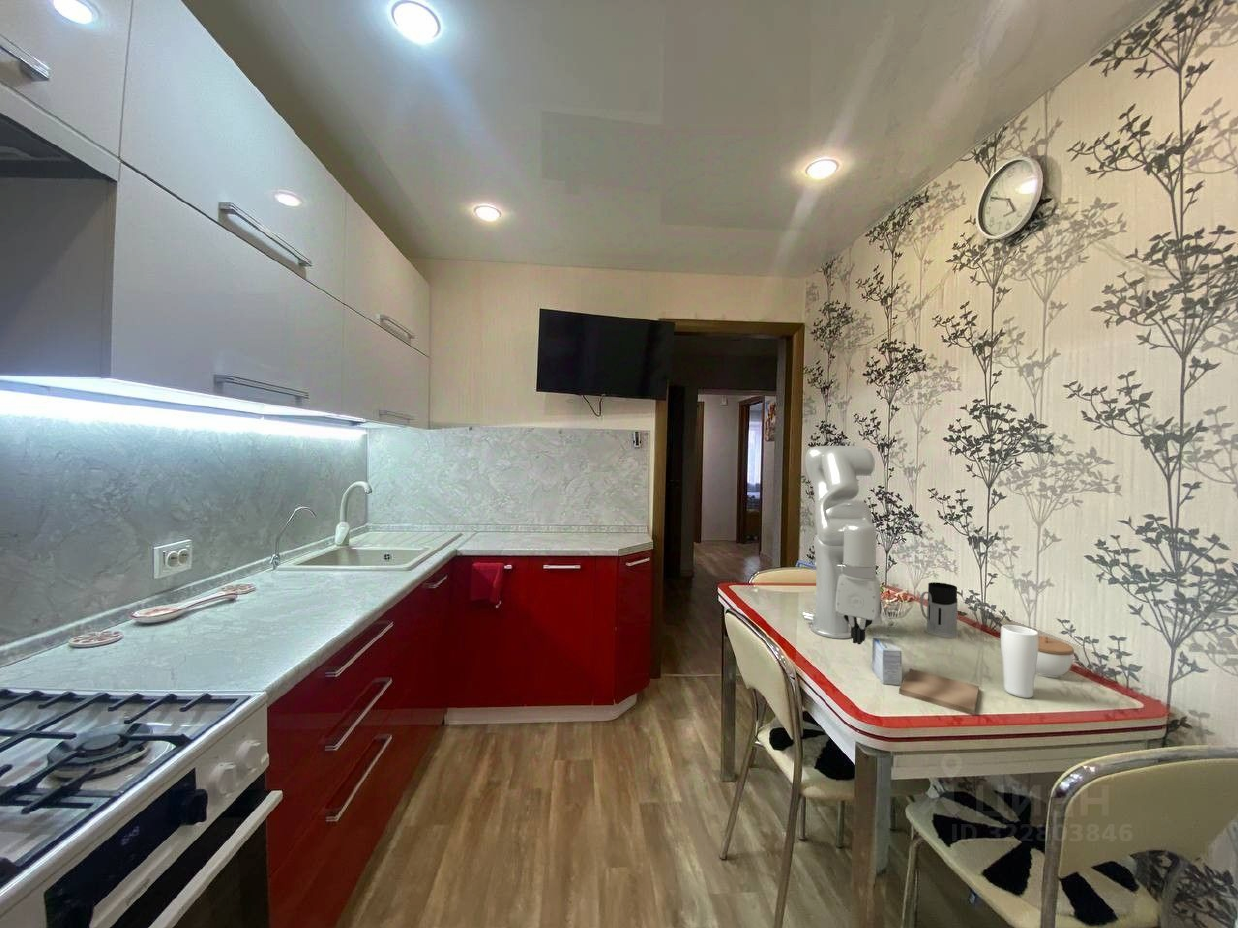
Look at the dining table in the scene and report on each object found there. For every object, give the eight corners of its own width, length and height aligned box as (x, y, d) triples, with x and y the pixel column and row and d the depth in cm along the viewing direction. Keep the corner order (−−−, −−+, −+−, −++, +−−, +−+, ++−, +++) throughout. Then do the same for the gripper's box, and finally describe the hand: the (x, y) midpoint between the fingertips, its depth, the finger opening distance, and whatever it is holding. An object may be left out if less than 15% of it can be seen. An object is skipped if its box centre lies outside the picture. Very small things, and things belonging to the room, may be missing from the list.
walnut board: (899, 693, 111) (899, 688, 111) (910, 673, 121) (910, 668, 121) (974, 715, 101) (974, 709, 101) (978, 691, 112) (979, 686, 112)
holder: (965, 635, 147) (966, 587, 147) (934, 642, 142) (935, 592, 142) (936, 626, 155) (937, 580, 155) (906, 632, 150) (907, 584, 150)
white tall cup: (1028, 688, 113) (1030, 626, 113) (1043, 702, 107) (1044, 636, 107) (994, 684, 116) (995, 622, 115) (1006, 697, 109) (1008, 632, 109)
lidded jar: (1082, 685, 116) (1084, 647, 116) (1029, 678, 119) (1030, 640, 119) (1058, 666, 126) (1059, 631, 126) (1009, 660, 129) (1010, 626, 129)
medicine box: (902, 686, 114) (903, 650, 114) (882, 684, 115) (882, 648, 115) (890, 671, 122) (891, 638, 122) (871, 670, 123) (872, 636, 123)
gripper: (824, 569, 124) (823, 638, 125) (888, 579, 115) (887, 654, 115) (833, 564, 130) (832, 631, 130) (895, 573, 120) (894, 645, 121)
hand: (857, 642), depth 123 cm, fingers closed
